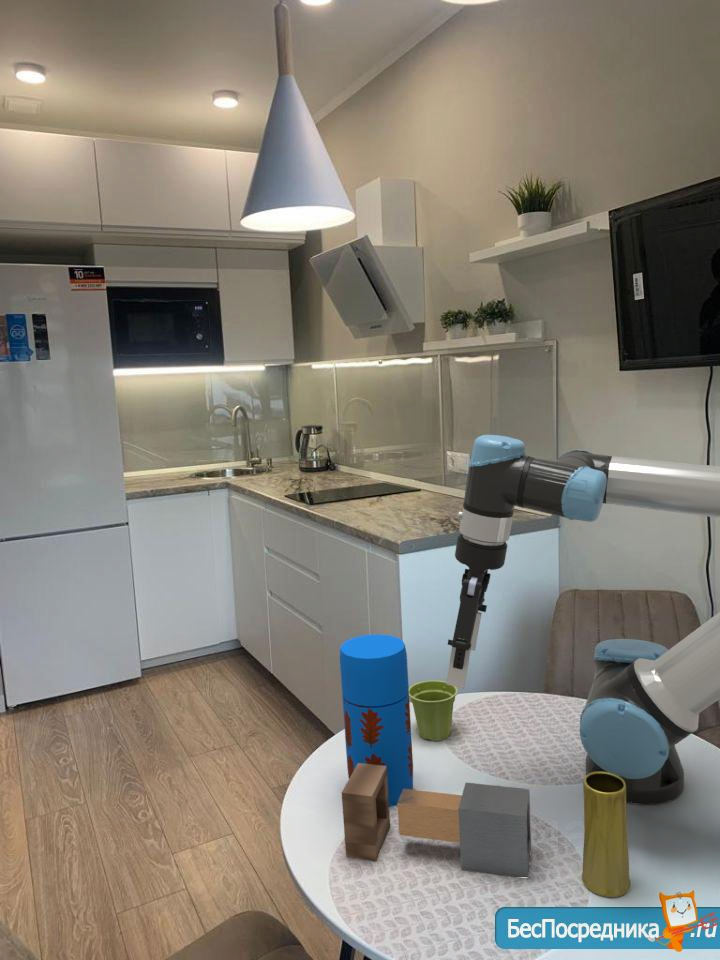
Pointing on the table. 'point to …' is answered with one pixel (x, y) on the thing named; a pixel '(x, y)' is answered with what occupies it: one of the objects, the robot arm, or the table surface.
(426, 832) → the rectangular peg
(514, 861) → the sleeve
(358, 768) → the socket block
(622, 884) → the vase
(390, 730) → the thermos
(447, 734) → the plant pot
